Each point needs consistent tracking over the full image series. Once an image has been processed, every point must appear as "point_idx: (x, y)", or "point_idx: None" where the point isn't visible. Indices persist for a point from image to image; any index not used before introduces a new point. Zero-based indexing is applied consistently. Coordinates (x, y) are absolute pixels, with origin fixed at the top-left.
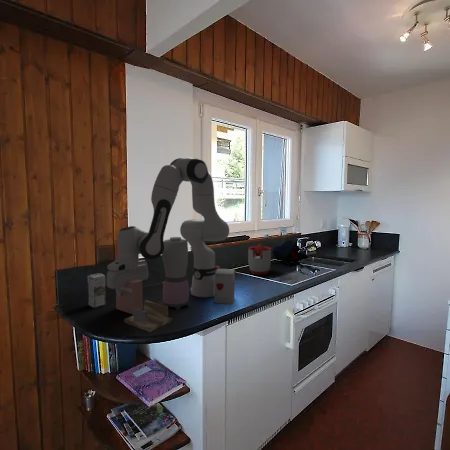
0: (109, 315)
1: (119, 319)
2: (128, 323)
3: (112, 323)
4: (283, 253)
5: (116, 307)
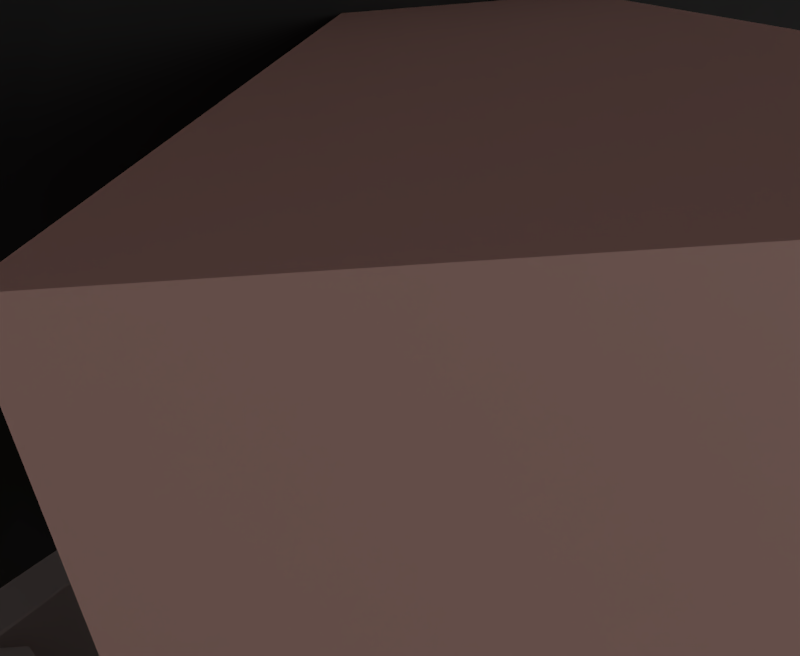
0: None
1: None
2: None
3: (24, 498)
4: None
5: (340, 16)
